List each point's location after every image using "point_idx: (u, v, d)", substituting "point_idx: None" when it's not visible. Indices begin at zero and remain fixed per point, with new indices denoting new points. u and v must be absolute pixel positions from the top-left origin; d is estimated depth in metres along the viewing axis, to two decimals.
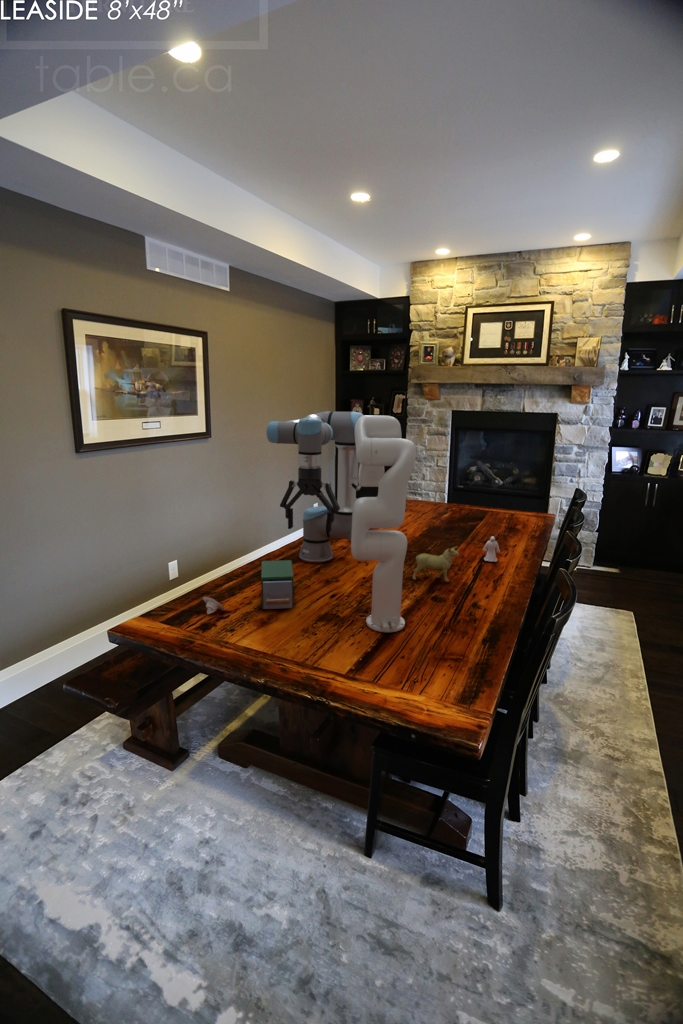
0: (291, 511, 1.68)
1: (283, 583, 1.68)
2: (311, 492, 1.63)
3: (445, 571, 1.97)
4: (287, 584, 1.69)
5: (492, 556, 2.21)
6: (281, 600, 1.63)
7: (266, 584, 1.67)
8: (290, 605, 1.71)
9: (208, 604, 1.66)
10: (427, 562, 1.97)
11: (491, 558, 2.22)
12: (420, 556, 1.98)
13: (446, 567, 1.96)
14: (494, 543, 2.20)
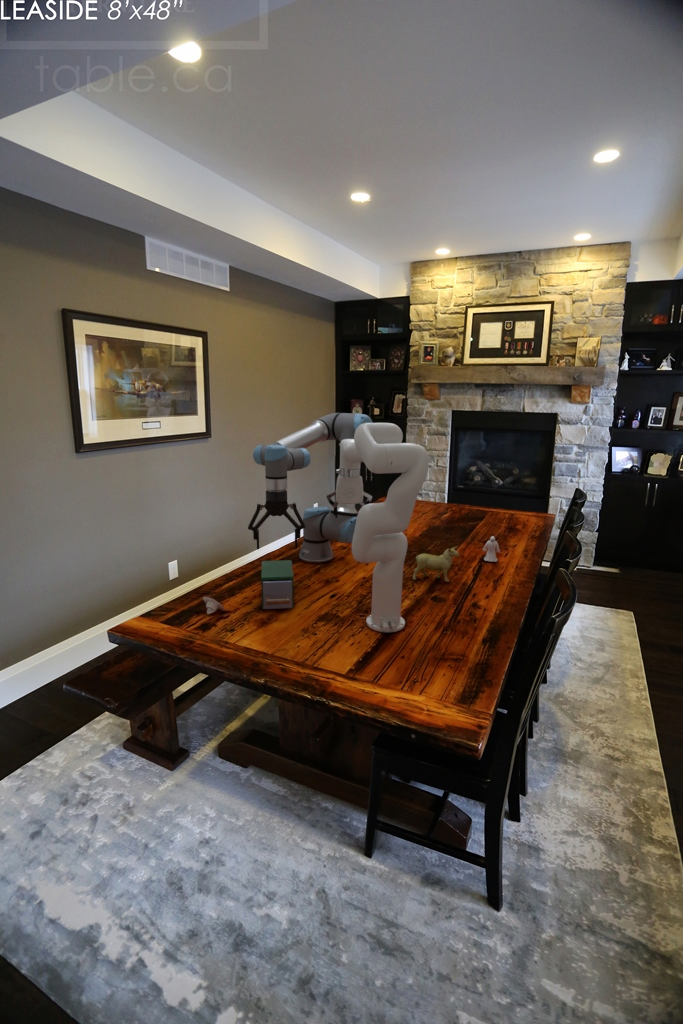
0: (295, 531, 1.79)
1: (283, 583, 1.68)
2: None
3: (445, 571, 1.97)
4: (287, 584, 1.69)
5: (492, 556, 2.21)
6: (281, 600, 1.63)
7: (266, 584, 1.67)
8: (290, 605, 1.71)
9: (208, 604, 1.66)
10: (427, 562, 1.97)
11: (491, 558, 2.22)
12: (420, 556, 1.98)
13: (446, 567, 1.96)
14: (494, 543, 2.20)
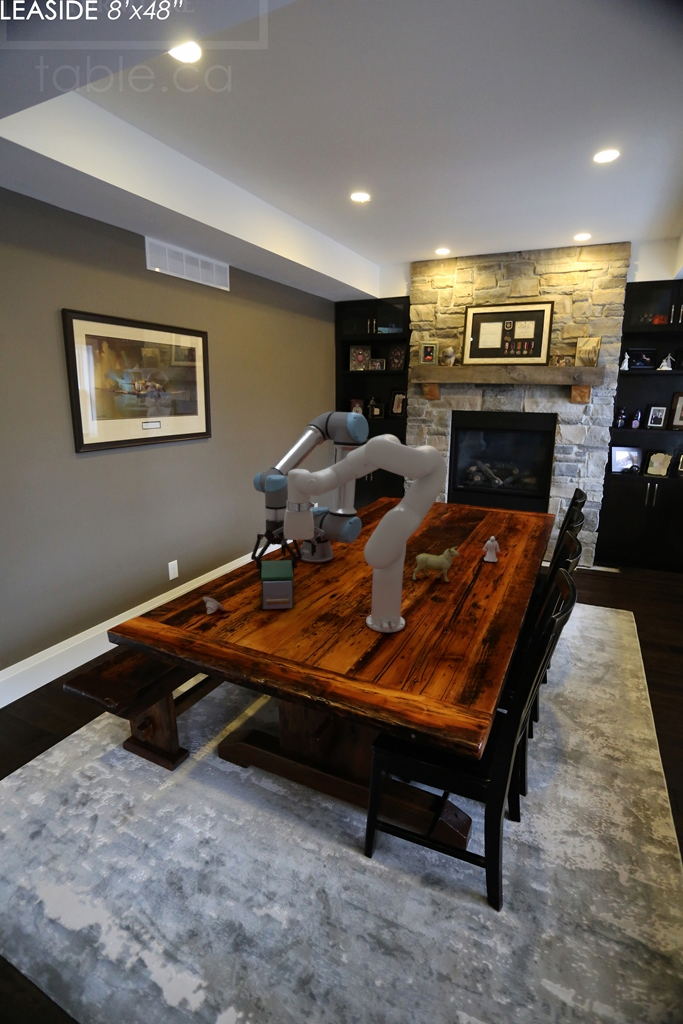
0: None
1: (283, 583, 1.68)
2: None
3: (445, 571, 1.97)
4: (287, 584, 1.69)
5: (492, 556, 2.21)
6: (281, 600, 1.63)
7: (266, 584, 1.67)
8: (290, 605, 1.71)
9: (208, 604, 1.66)
10: (427, 562, 1.97)
11: (491, 558, 2.22)
12: (420, 556, 1.98)
13: (446, 567, 1.96)
14: (494, 543, 2.20)
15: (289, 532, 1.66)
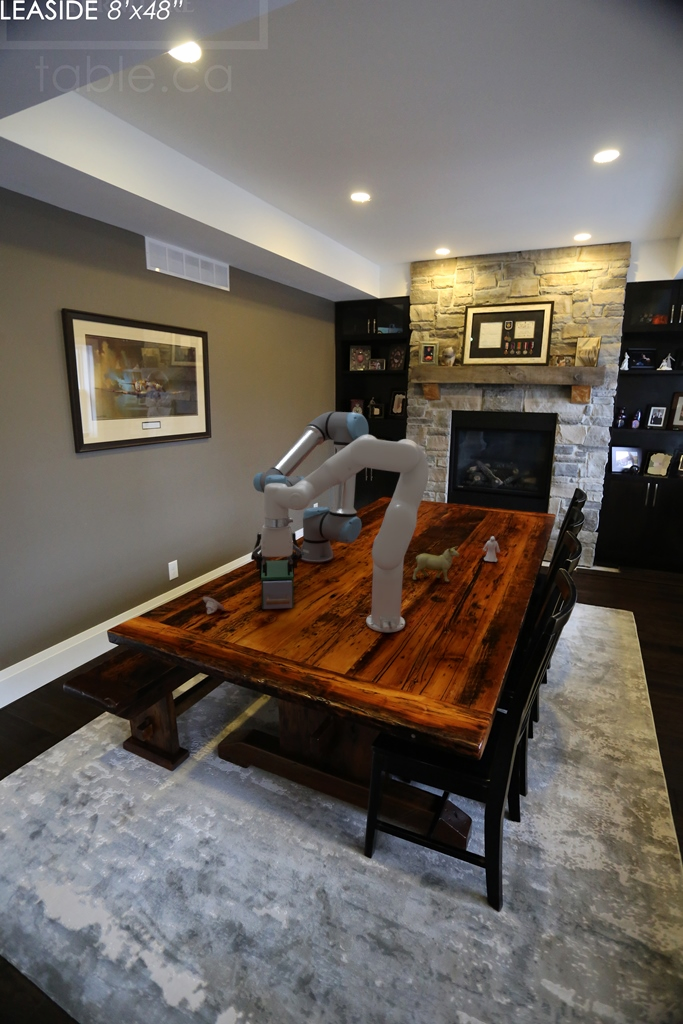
0: None
1: (283, 583, 1.68)
2: None
3: (445, 571, 1.97)
4: (287, 584, 1.69)
5: (492, 556, 2.21)
6: (281, 600, 1.63)
7: (266, 584, 1.68)
8: (290, 605, 1.71)
9: (208, 604, 1.66)
10: (427, 562, 1.97)
11: (491, 558, 2.22)
12: (420, 556, 1.98)
13: (446, 567, 1.96)
14: (494, 543, 2.20)
15: (267, 549, 1.59)
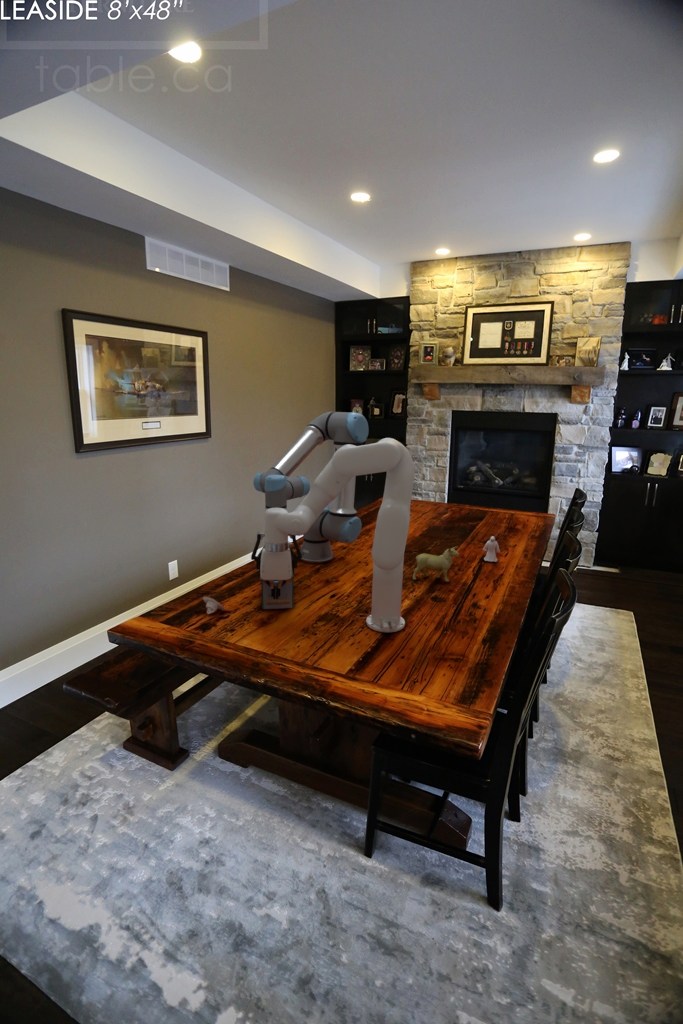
0: None
1: None
2: None
3: (445, 571, 1.97)
4: (287, 584, 1.69)
5: (492, 556, 2.21)
6: (281, 600, 1.63)
7: (266, 584, 1.68)
8: (290, 605, 1.71)
9: (208, 604, 1.66)
10: (427, 562, 1.97)
11: (491, 558, 2.22)
12: (420, 556, 1.98)
13: (446, 567, 1.96)
14: (494, 543, 2.20)
15: (266, 573, 1.61)
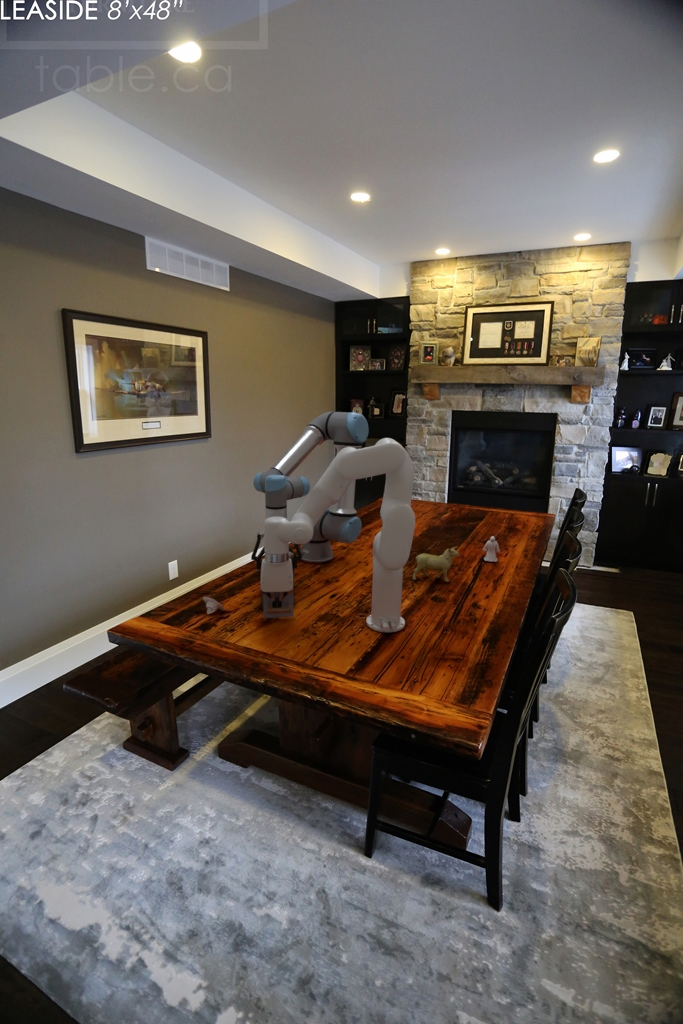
0: None
1: None
2: None
3: (445, 571, 1.97)
4: None
5: (492, 556, 2.21)
6: (282, 609, 1.57)
7: None
8: (291, 614, 1.64)
9: (208, 604, 1.66)
10: (427, 562, 1.97)
11: (491, 558, 2.22)
12: (420, 556, 1.98)
13: (446, 567, 1.96)
14: (494, 543, 2.20)
15: (266, 584, 1.55)
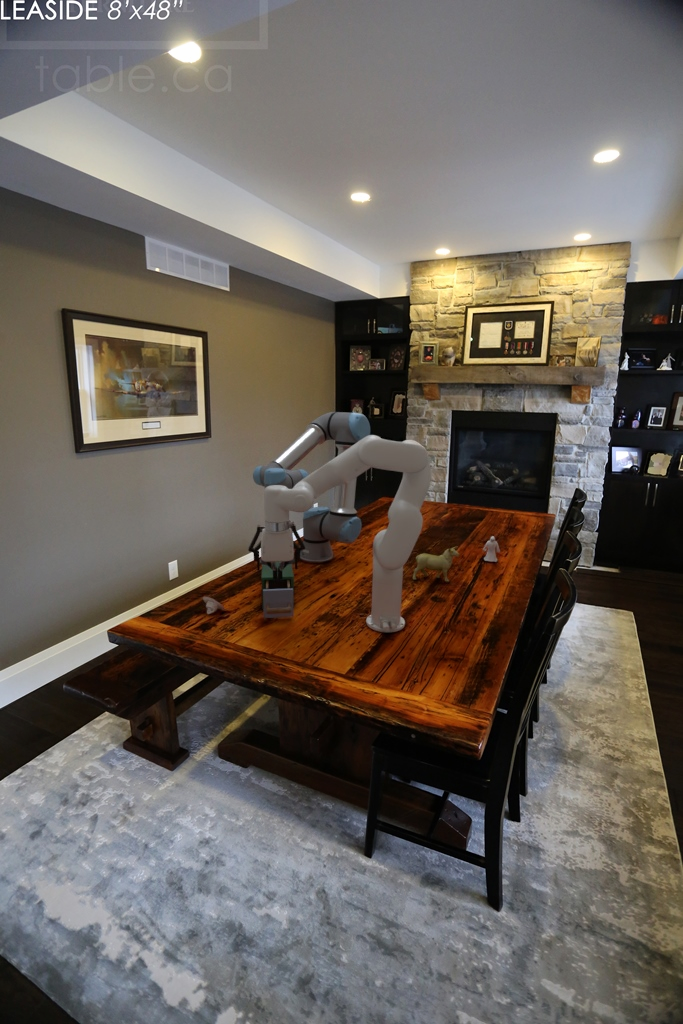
0: None
1: (284, 591, 1.62)
2: None
3: (445, 571, 1.97)
4: (288, 592, 1.62)
5: (492, 556, 2.21)
6: (282, 609, 1.57)
7: (266, 592, 1.61)
8: (291, 614, 1.64)
9: (208, 604, 1.66)
10: (427, 562, 1.97)
11: (491, 558, 2.22)
12: (420, 556, 1.98)
13: (446, 567, 1.96)
14: (494, 543, 2.20)
15: (267, 554, 1.54)
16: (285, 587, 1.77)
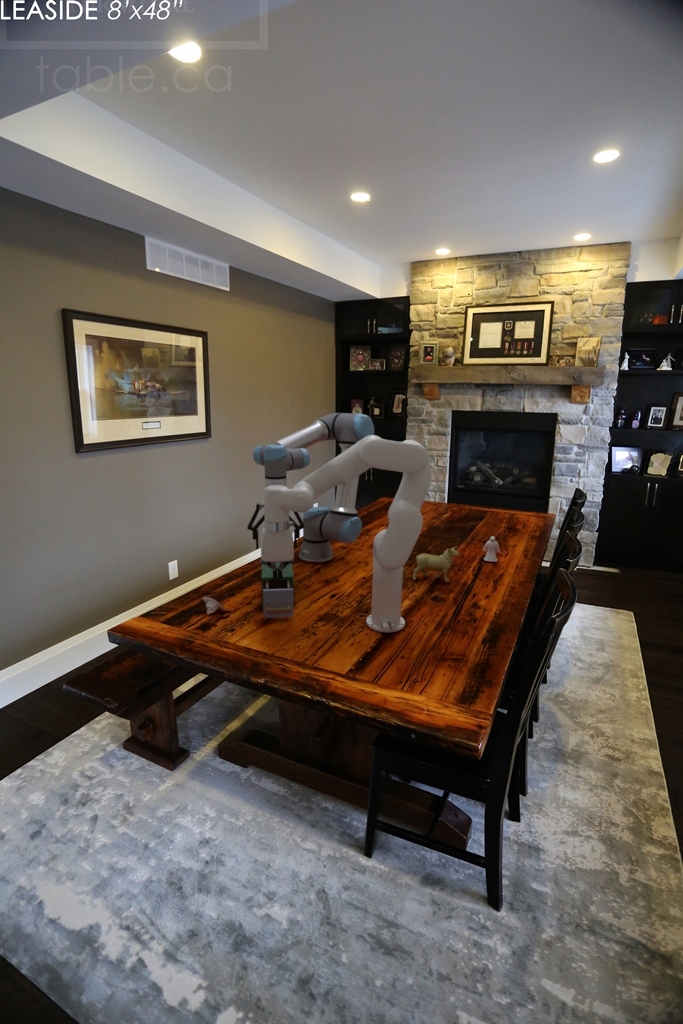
0: (294, 531, 1.80)
1: (284, 591, 1.62)
2: None
3: (445, 571, 1.97)
4: (288, 592, 1.62)
5: (492, 556, 2.21)
6: (282, 609, 1.57)
7: (266, 592, 1.61)
8: (291, 614, 1.64)
9: (208, 604, 1.66)
10: (427, 562, 1.97)
11: (491, 558, 2.22)
12: (420, 556, 1.98)
13: (446, 567, 1.96)
14: (494, 543, 2.20)
15: (267, 554, 1.54)
16: (285, 587, 1.77)
